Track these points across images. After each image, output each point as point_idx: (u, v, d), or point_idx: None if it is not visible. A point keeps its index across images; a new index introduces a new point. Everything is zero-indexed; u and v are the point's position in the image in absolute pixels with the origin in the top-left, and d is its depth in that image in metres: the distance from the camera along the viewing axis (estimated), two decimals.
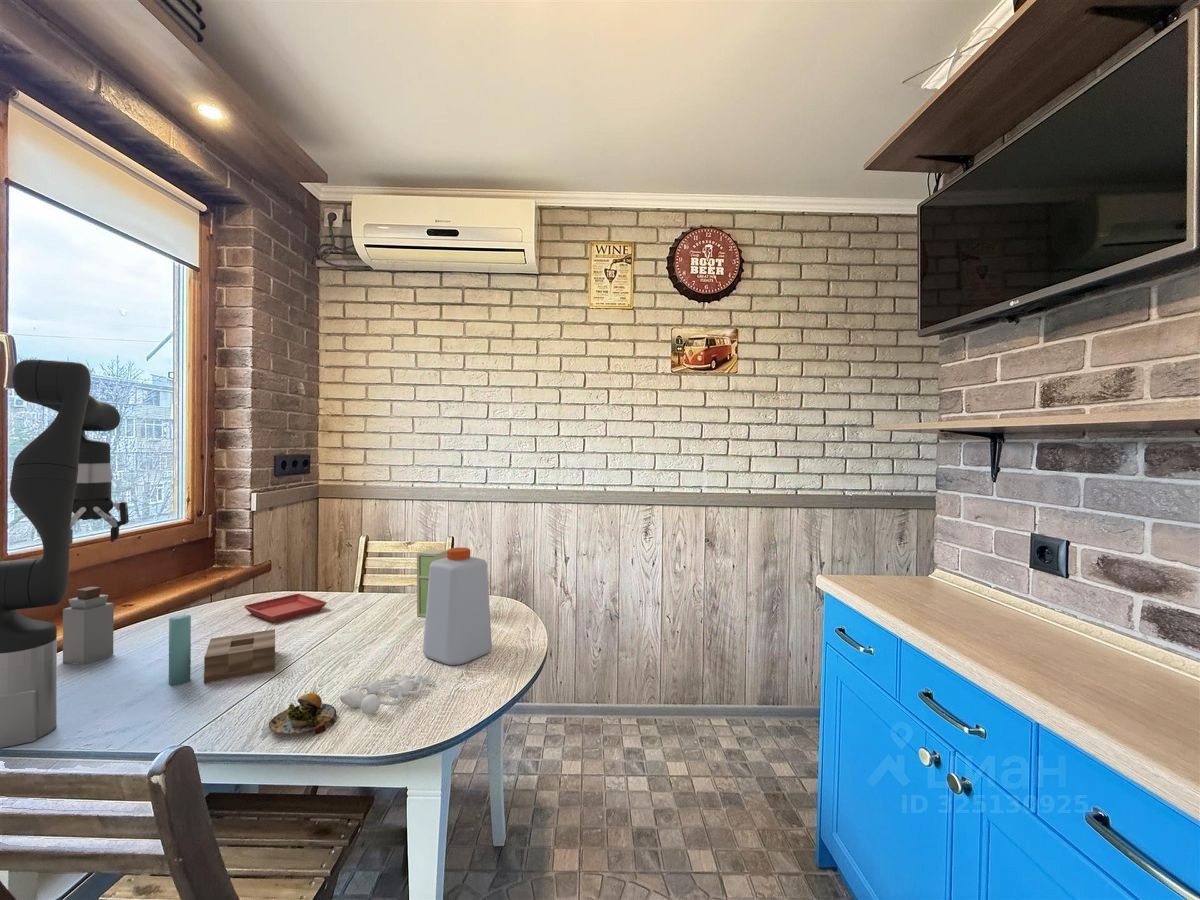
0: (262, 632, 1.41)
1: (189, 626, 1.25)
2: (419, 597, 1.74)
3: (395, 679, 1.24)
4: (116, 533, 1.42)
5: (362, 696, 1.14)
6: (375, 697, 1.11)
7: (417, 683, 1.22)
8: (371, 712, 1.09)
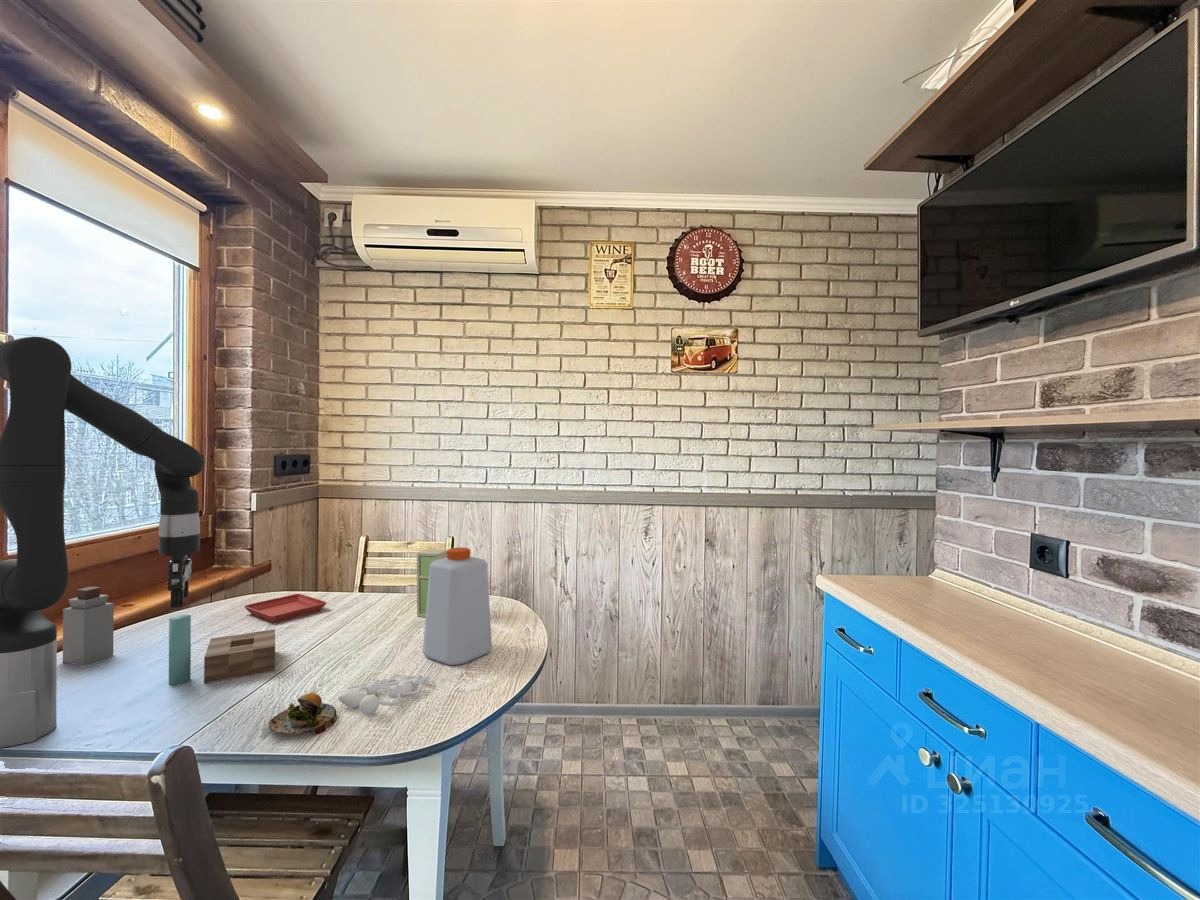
0: (262, 632, 1.41)
1: (189, 626, 1.25)
2: (419, 597, 1.74)
3: (394, 679, 1.24)
4: None
5: (361, 696, 1.14)
6: (374, 697, 1.10)
7: (416, 683, 1.21)
8: (370, 712, 1.09)
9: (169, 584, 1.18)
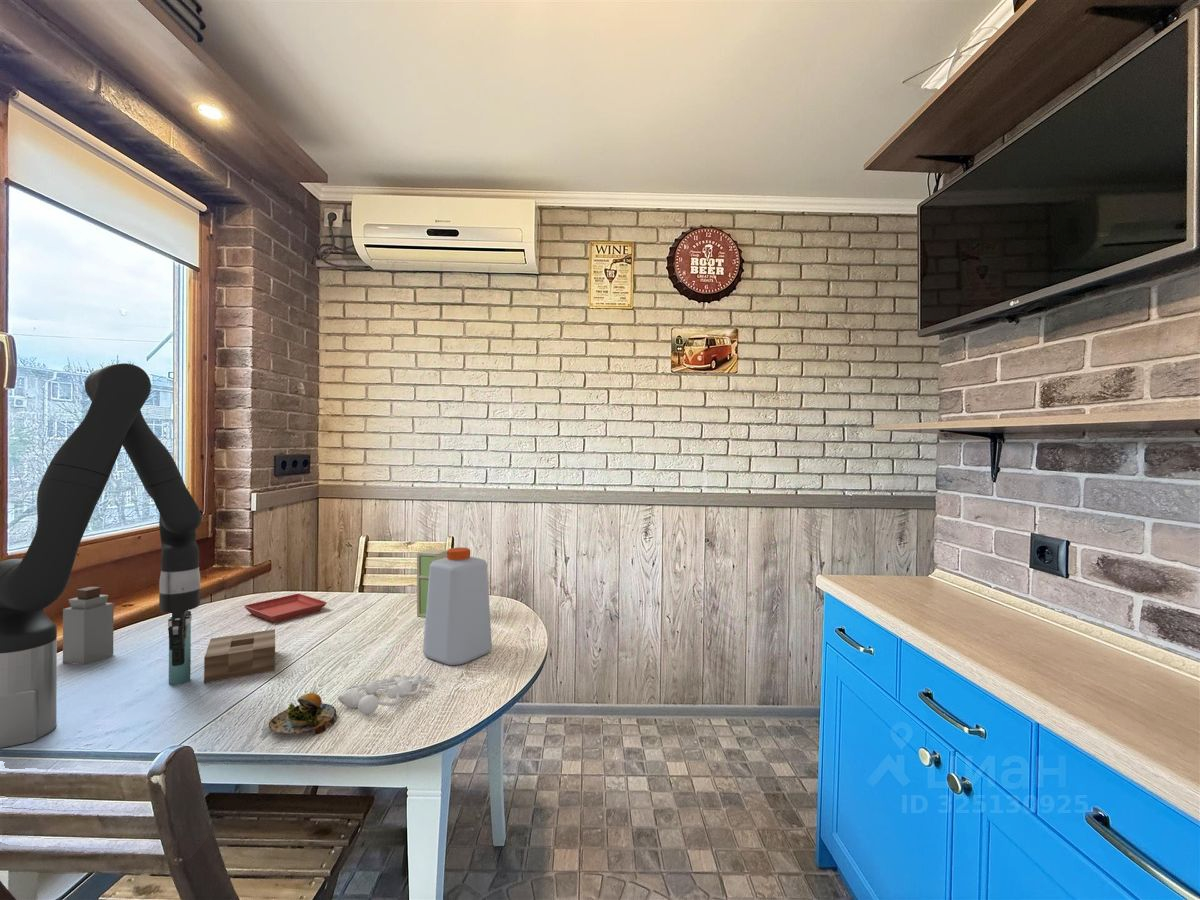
0: (262, 632, 1.41)
1: (189, 626, 1.25)
2: (419, 597, 1.74)
3: (394, 679, 1.24)
4: None
5: (360, 696, 1.14)
6: (373, 697, 1.10)
7: (416, 684, 1.21)
8: (369, 712, 1.09)
9: (170, 645, 1.20)
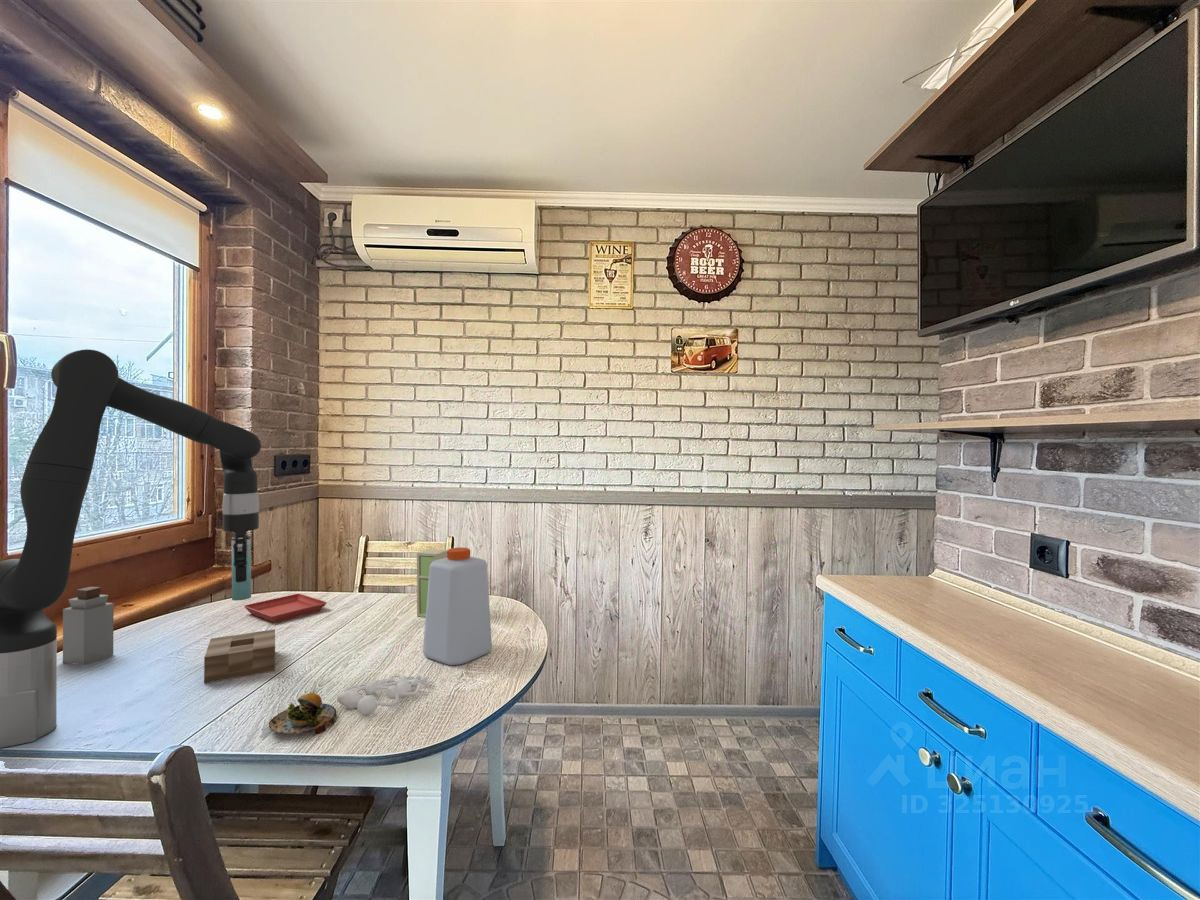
0: (262, 632, 1.41)
1: (249, 546, 1.34)
2: (419, 597, 1.74)
3: (393, 680, 1.24)
4: None
5: (359, 697, 1.13)
6: (372, 698, 1.10)
7: (415, 684, 1.21)
8: (368, 713, 1.09)
9: (235, 561, 1.28)
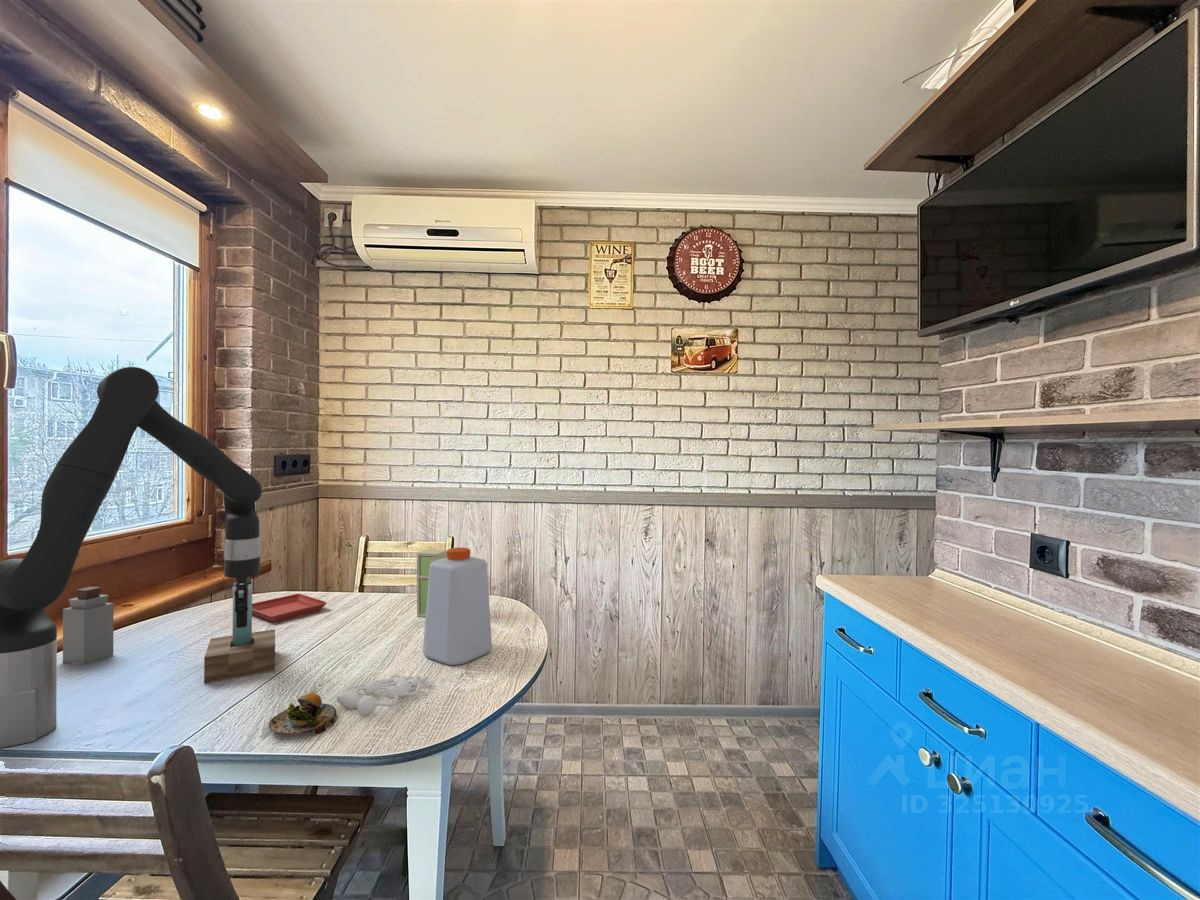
0: (262, 632, 1.41)
1: (251, 591, 1.34)
2: (419, 597, 1.74)
3: (393, 680, 1.23)
4: None
5: (359, 697, 1.13)
6: (371, 698, 1.10)
7: (415, 684, 1.21)
8: (367, 713, 1.09)
9: (236, 608, 1.28)
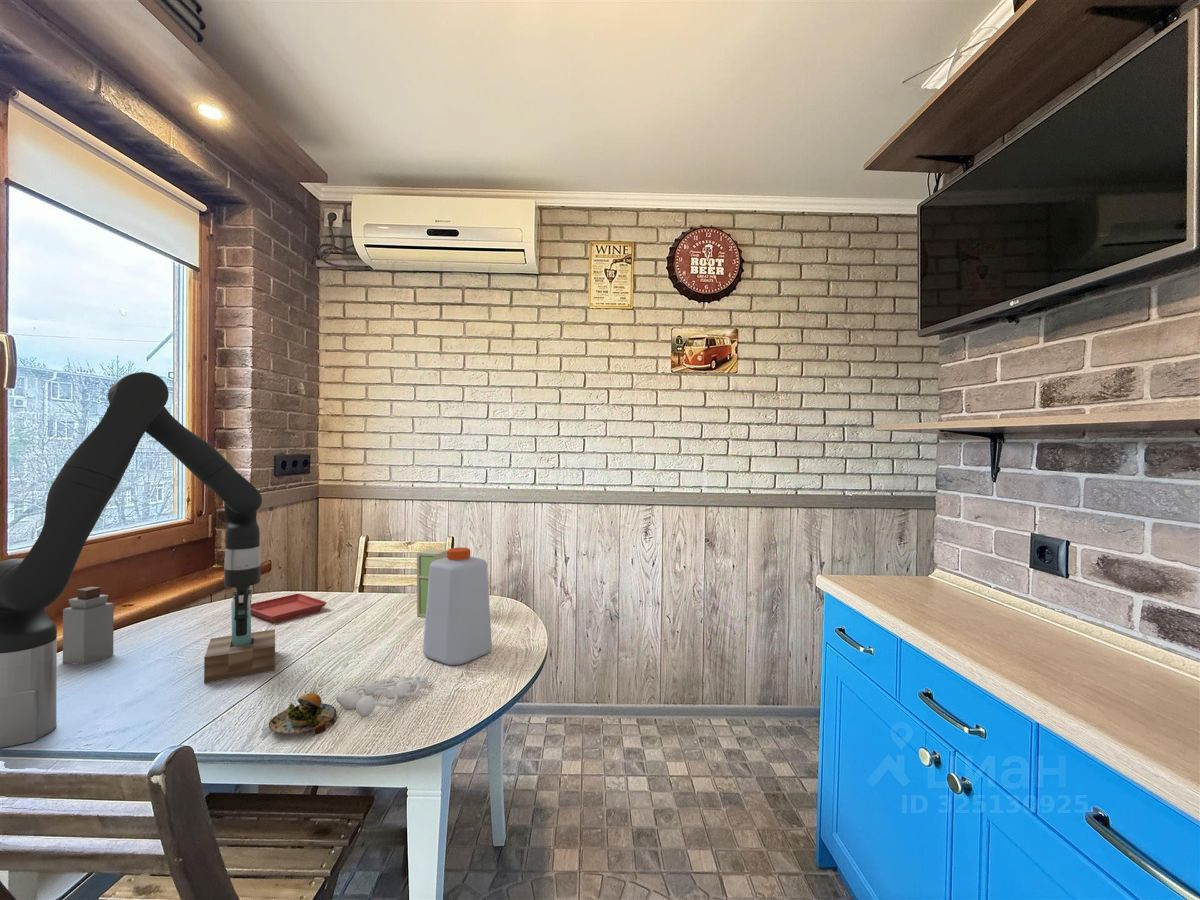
0: (262, 632, 1.41)
1: None
2: (419, 597, 1.74)
3: (393, 680, 1.23)
4: None
5: (358, 697, 1.13)
6: (370, 698, 1.10)
7: (414, 685, 1.21)
8: (366, 714, 1.09)
9: (235, 615, 1.27)
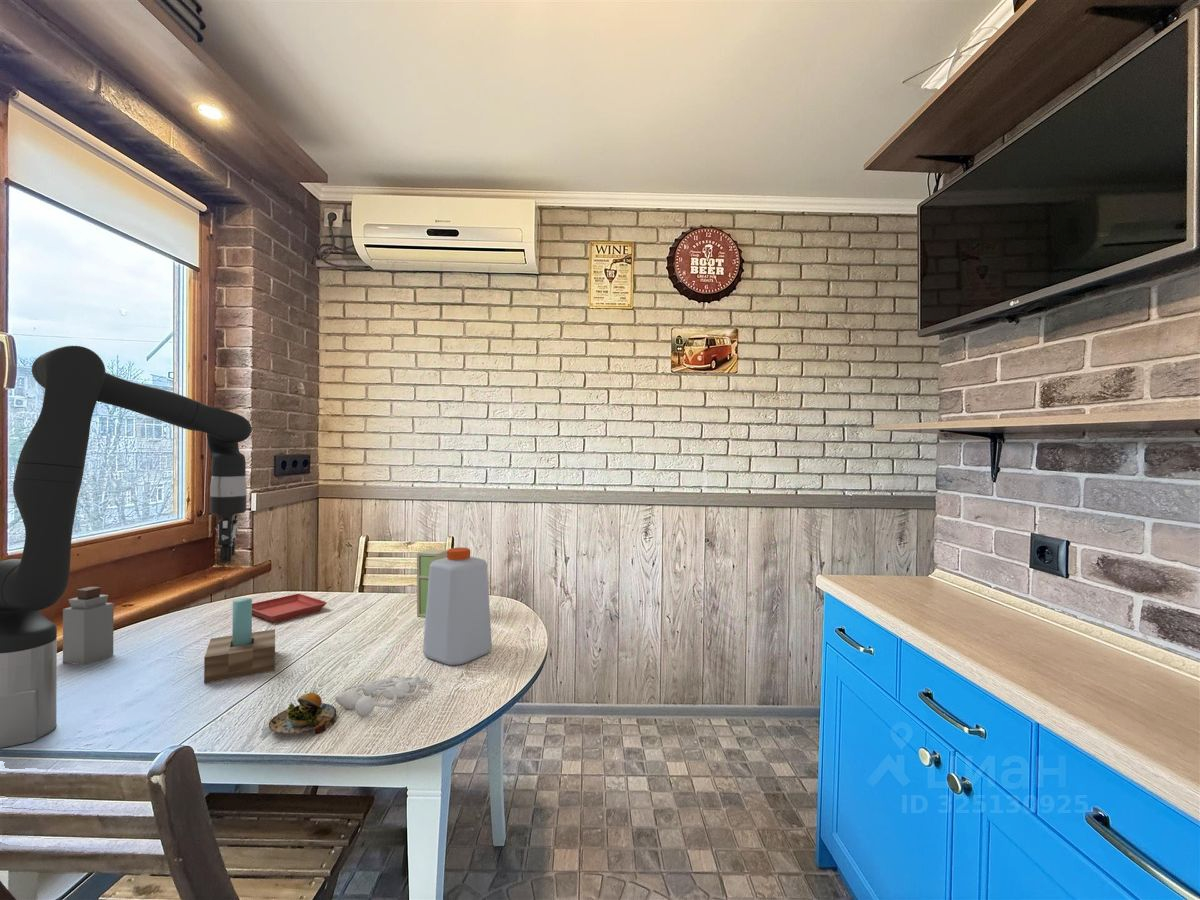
0: (262, 632, 1.41)
1: (250, 608, 1.34)
2: (419, 597, 1.74)
3: (392, 680, 1.23)
4: None
5: (357, 697, 1.13)
6: (369, 699, 1.10)
7: (413, 685, 1.21)
8: (365, 714, 1.09)
9: (219, 539, 1.28)
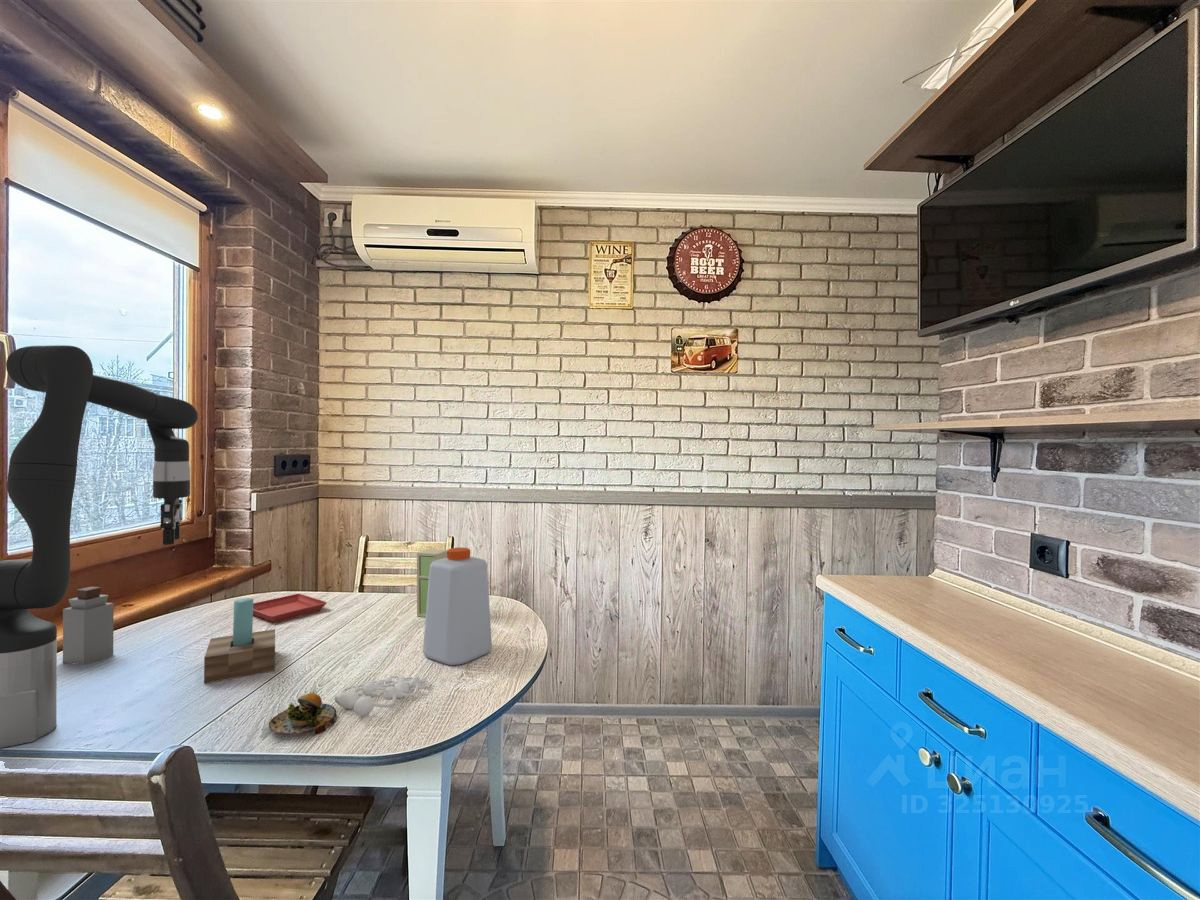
0: (262, 632, 1.41)
1: (252, 609, 1.34)
2: (419, 597, 1.74)
3: (392, 681, 1.23)
4: None
5: (356, 698, 1.13)
6: (368, 699, 1.10)
7: (413, 685, 1.20)
8: (364, 714, 1.09)
9: (161, 522, 1.31)
